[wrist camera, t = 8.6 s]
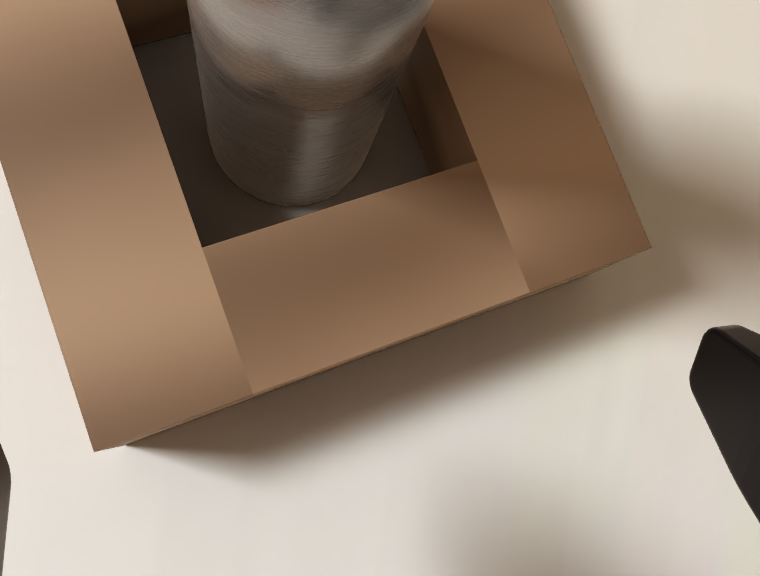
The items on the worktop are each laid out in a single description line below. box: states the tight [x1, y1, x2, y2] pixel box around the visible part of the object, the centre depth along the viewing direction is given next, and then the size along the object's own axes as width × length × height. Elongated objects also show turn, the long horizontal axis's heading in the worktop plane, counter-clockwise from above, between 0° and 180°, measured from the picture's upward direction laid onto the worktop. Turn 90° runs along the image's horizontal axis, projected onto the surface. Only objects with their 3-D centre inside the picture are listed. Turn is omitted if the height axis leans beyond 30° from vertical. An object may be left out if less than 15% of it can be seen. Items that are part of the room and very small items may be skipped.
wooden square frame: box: [0, 0, 651, 452], centre depth 17 cm, size 12×12×3 cm
